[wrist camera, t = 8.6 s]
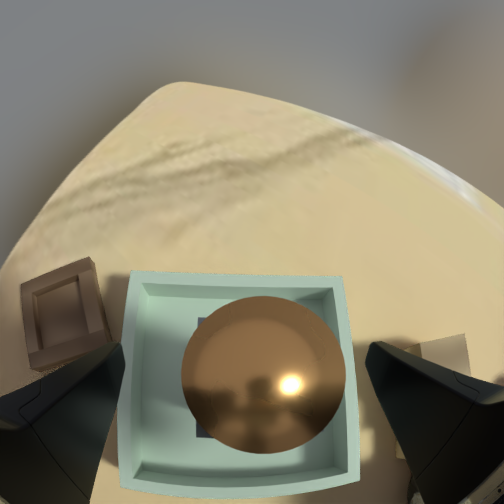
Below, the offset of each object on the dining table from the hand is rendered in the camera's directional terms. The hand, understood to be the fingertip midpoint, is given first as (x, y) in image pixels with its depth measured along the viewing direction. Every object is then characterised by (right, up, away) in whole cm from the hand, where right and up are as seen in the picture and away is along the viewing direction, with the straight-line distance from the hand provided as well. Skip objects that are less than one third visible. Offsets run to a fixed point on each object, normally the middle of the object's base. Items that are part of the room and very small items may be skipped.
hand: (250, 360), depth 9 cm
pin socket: (-14, -1, +8) cm, 16 cm away
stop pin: (-1, -5, +7) cm, 8 cm away
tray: (-1, -5, +7) cm, 9 cm away
